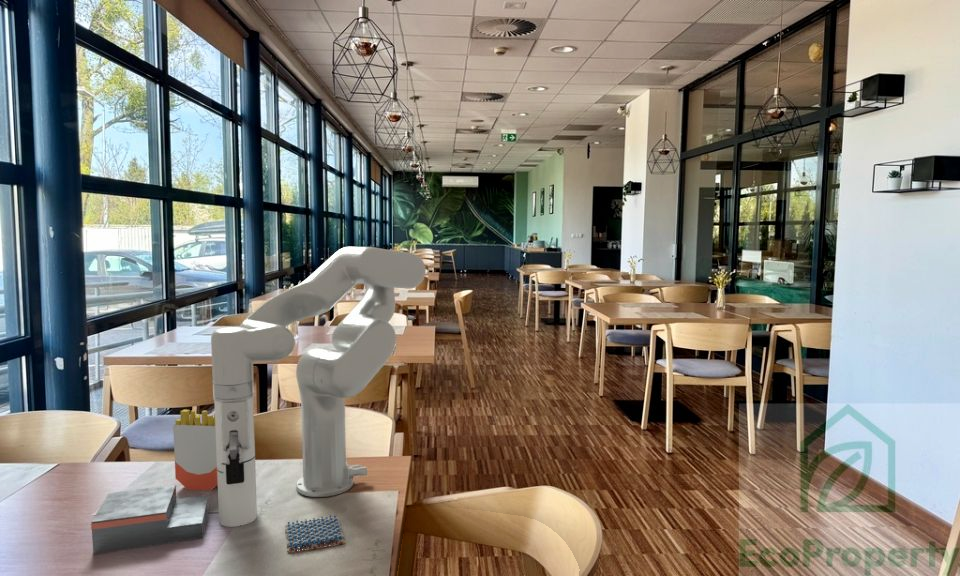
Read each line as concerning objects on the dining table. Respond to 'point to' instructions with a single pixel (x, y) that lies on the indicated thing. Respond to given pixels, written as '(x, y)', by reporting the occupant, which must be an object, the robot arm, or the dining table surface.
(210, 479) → the french fries container
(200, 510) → the step stand
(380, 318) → the robot arm
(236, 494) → the cylindrical container
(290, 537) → the woven mat
